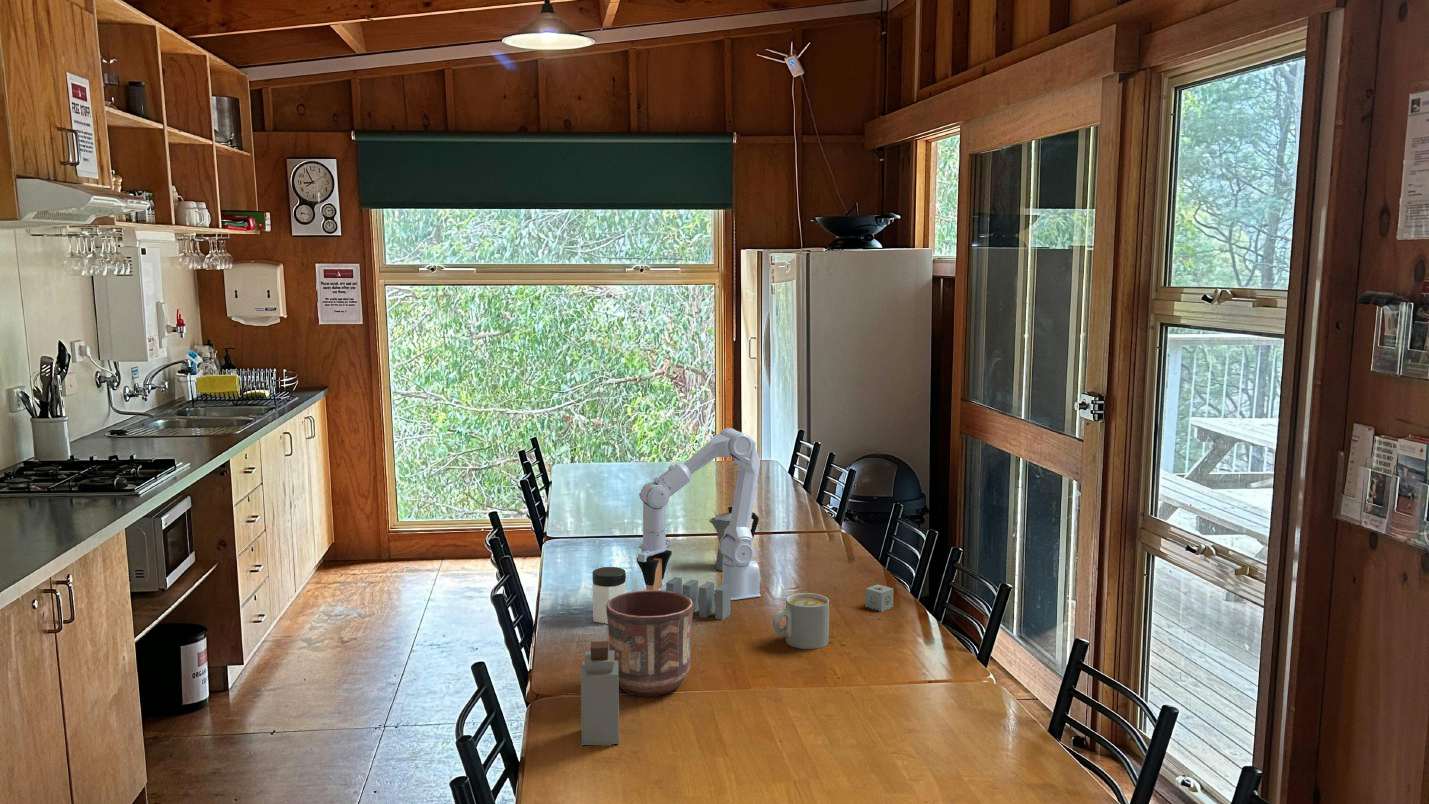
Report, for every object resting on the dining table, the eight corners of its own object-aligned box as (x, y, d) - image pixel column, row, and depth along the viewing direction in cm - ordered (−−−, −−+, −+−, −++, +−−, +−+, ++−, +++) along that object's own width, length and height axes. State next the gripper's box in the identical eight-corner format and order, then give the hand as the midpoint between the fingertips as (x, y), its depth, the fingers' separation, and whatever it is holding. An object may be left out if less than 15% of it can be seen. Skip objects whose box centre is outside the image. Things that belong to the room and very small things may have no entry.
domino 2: (666, 611, 261) (666, 582, 260) (674, 605, 266) (674, 577, 265) (673, 612, 261) (673, 583, 260) (681, 606, 265) (681, 578, 264)
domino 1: (646, 591, 263) (646, 562, 262) (655, 585, 268) (655, 557, 266) (653, 592, 262) (653, 563, 261) (662, 586, 267) (662, 558, 266)
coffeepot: (715, 575, 291) (716, 512, 289) (703, 565, 300) (703, 505, 297) (765, 568, 297) (765, 507, 295) (751, 559, 306) (751, 500, 303)
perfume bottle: (583, 729, 196) (581, 638, 194) (619, 728, 197) (618, 637, 194) (581, 746, 190) (580, 652, 187) (618, 744, 190) (617, 651, 188)
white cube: (865, 607, 265) (865, 588, 264) (877, 602, 269) (877, 584, 268) (881, 612, 262) (881, 593, 261) (893, 607, 265) (893, 588, 264)
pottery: (660, 710, 204) (660, 622, 202) (590, 690, 214) (589, 606, 211) (708, 680, 219) (709, 598, 217) (641, 663, 228) (641, 584, 226)
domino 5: (715, 618, 256) (715, 589, 255) (723, 612, 261) (723, 583, 260) (722, 620, 255) (722, 590, 254) (730, 613, 260) (730, 584, 259)
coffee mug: (822, 632, 247) (823, 592, 246) (833, 648, 237) (834, 605, 236) (767, 635, 245) (767, 594, 244) (776, 651, 235) (776, 608, 234)
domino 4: (699, 616, 258) (699, 587, 257) (707, 610, 262) (707, 581, 261) (706, 617, 257) (706, 588, 256) (714, 611, 262) (714, 582, 261)
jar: (601, 626, 250) (600, 578, 249) (585, 617, 257) (585, 570, 255) (633, 619, 255) (633, 572, 254) (617, 610, 262) (617, 564, 260)
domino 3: (682, 613, 260) (682, 585, 259) (690, 607, 264) (690, 579, 263) (689, 615, 259) (689, 586, 258) (698, 608, 263) (698, 580, 262)
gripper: (653, 521, 271) (653, 571, 273) (626, 535, 258) (627, 587, 260) (677, 524, 268) (677, 575, 270) (652, 538, 255) (652, 591, 257)
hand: (654, 581), depth 265 cm, fingers closed on domino 1, 5 cm apart
